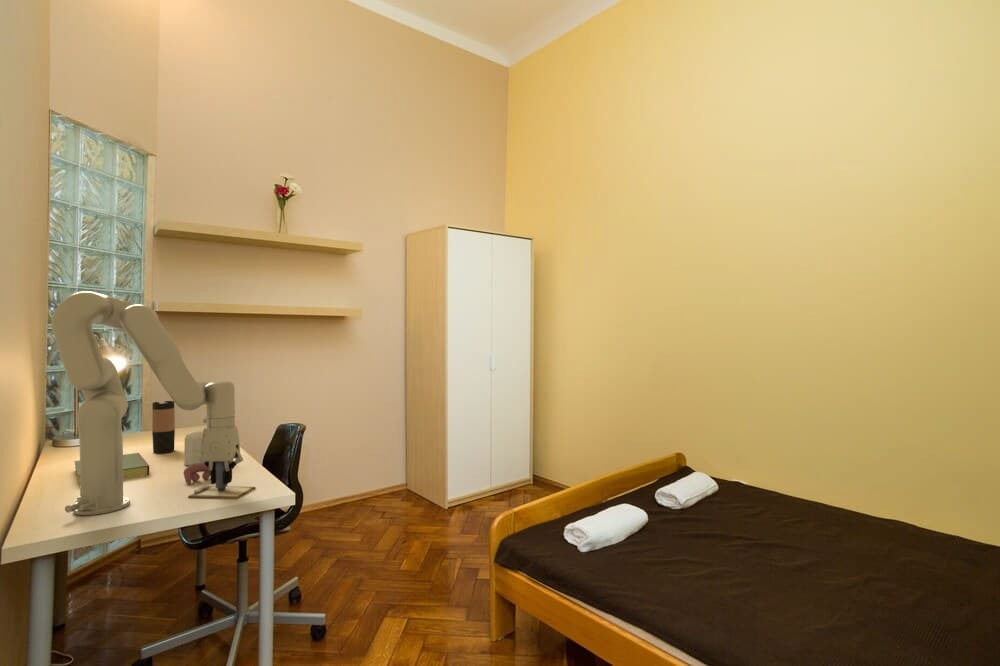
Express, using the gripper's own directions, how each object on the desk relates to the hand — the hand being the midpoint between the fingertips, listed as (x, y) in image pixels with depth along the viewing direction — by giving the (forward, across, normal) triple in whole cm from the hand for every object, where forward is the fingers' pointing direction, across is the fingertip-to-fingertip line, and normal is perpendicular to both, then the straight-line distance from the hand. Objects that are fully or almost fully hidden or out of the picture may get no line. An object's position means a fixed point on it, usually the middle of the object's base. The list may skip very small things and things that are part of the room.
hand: (221, 482), depth 158 cm
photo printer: (+3, -28, +32) cm, 43 cm away
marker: (+2, 0, 0) cm, 2 cm away
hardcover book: (+4, -52, +20) cm, 55 cm away
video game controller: (+4, -14, +12) cm, 19 cm away
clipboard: (+3, 0, 0) cm, 3 cm away
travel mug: (+3, -54, +49) cm, 74 cm away
